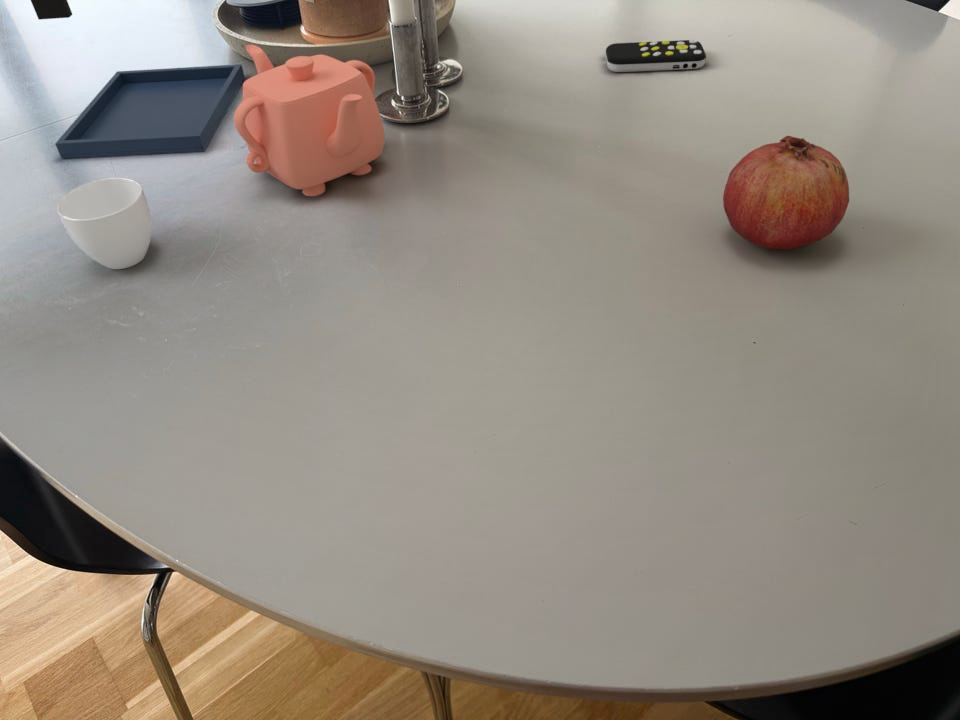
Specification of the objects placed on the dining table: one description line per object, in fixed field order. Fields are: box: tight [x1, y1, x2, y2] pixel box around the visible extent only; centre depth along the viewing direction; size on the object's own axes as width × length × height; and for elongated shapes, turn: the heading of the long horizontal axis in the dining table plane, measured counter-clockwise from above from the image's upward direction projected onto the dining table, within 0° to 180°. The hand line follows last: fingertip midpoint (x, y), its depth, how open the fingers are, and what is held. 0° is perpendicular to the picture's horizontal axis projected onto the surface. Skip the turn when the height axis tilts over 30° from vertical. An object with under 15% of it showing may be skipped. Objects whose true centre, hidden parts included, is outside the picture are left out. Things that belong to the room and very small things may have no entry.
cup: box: [56, 177, 153, 270], centre depth 80 cm, size 8×10×7 cm
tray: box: [54, 63, 246, 160], centre depth 106 cm, size 22×18×2 cm
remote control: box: [605, 39, 707, 73], centre depth 108 cm, size 6×13×2 cm, turn 88°
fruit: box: [722, 135, 850, 250], centre depth 73 cm, size 11×10×10 cm
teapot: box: [233, 44, 385, 197], centre depth 88 cm, size 15×17×13 cm
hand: (21, 47), depth 65 cm, fingers open, 13 cm apart
